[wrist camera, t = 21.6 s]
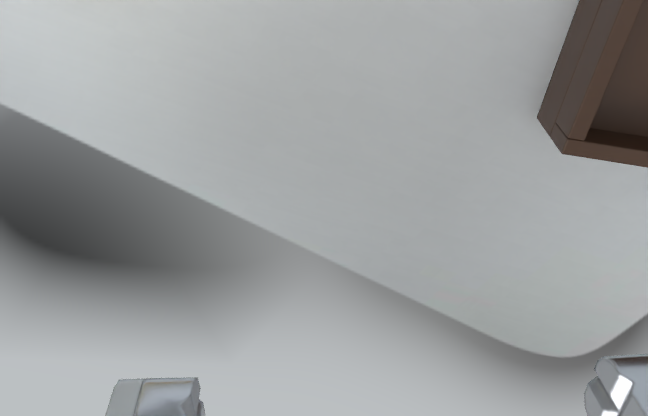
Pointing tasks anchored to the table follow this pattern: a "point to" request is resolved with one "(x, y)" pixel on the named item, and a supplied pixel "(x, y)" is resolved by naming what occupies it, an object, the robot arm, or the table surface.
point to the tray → (602, 84)
